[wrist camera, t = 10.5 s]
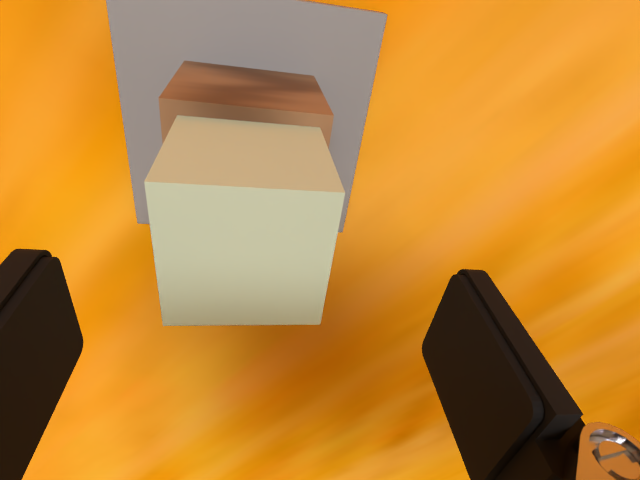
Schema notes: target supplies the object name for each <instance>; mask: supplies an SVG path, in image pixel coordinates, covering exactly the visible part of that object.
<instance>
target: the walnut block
mask: <svg viewBox="0 0 640 480" xmlns="http://www.w3.org/2000/svg"><path fill="white" fill-rule="evenodd" d="M159 110H160V121H161V133H162V144H163V143H164V141H165V139H166V137H167V135H168V133H169V131H170V129H171V127H172V125H173V123H174V121H175V119H176V117H177V115H180V116H192V117H203V118H215V119H227V120H238V121H250V122H262V123H273V124H285V125H297V126H308V127H320V128H321V131H322V134H323V136H324V139H325V141H326V144H327V147H328V149H329V143H330V137H331V131H332V125H333V118H334V115H333V113H332V111H331V109H330V107H329V105H328V103H327V101H326V99H325V97H324V95H323V93H322V91H321V89H320V87H319V85H318V83H317V81H316V79H315V77H314V76H312V75H304V74H295V73H287V72H278V71H270V70H261V69H253V68H245V67H236V66H228V65H219V64H211V63H202V62H194V61H185V60H184V62H183V63H182V65H181V66H180V68H179V69H178V70H177V72H176V73H175V75H174V76H173V78H172V79H171V81H170V82H169V83H168V85H167V86H166V88H165V89H164V91H163V92H162V94H161V95H160V96H159Z"/></svg>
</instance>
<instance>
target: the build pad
mask: <svg viewBox="0 0 640 480" xmlns="http://www.w3.org/2000/svg"><path fill="white" fill-rule="evenodd" d="M106 3H107V10H108V17H109V25H110V32H111V39H112V46H113V53H114V60H115V67H116V74H117V81H118V88H119V96H120V103H121V110H122V117H123V124H124V131H125V138H126V145H127V152H128V159H129V167H130V174H131V181H132V188H133V195H134V202H135V209H136V216H137V223H139V224H150V222H149V215H148V207H147V199H146V192H145V184H144V181H145V179H146V177H147V175H148V173H149V171H150V169H151V167H152V165H153V163H154V161H155V159H156V157H157V155H158V153H159V151H160V149H161V147H162V145H163V144H162V133H161V121H160V110H159V96H160V95H161V94H162V92H163V91H164V89H165V88H166V86H167V85H168V83H169V82H170V81H171V79H172V78H173V76H174V75H175V73H176V72H177V70H178V69H179V68H180V66H181V65H182V63H183V62H184V60H185V61H194V62H202V63H211V64H219V65H228V66H236V67H245V68H253V69H261V70H270V71H278V72H287V73H295V74H304V75H312V76H314V77H315V79H316V81H317V83H318V85H319V87H320V89H321V91H322V93H323V95H324V97H325V99H326V101H327V103H328V105H329V107H330V109H331V111H332V113H333V115H334V118H333V125H332V131H331V137H330V143H329V152H330V154H331V157H332V160H333V162H334V165H335V167H336V170H337V173H338V175H339V178H340V180H341V183H342V186H343V188H344V191H345V197H344V202H343V207H342V212H341V218H340V223H339V228H338V232H343V227H344V222H345V218H346V213H347V208H348V203H349V198H350V193H351V188H352V184H353V179H354V174H355V169H356V164H357V159H358V154H359V150H360V145H361V140H362V135H363V130H364V125H365V121H366V116H367V111H368V106H369V101H370V96H371V91H372V87H373V82H374V77H375V72H376V67H377V62H378V58H379V53H380V48H381V43H382V38H383V33H384V28H385V24H386V19H387V14H385V13H383V12H377V11H370V10H364V9H357V8H351V7H344V6H338V5H331V4H325V3H318V2H312V1H305V0H106Z"/></svg>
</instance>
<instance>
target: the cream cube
mask: <svg viewBox="0 0 640 480" xmlns="http://www.w3.org/2000/svg"><path fill="white" fill-rule="evenodd" d="M144 184H145V192H146V199H147V207H148V215H149V222H150V230H151V238H152V245H153V253H154V261H155V268H156V276H157V284H158V291H159V299H160V307H161V314H162V322H163V326H202V325H320V324H321V318H322V313H323V308H324V302H325V297H326V292H327V287H328V281H329V276H330V271H331V265H332V260H333V255H334V249H335V244H336V239H337V234H338V228H339V223H340V218H341V212H342V207H343V202H344V197H345V191H344V188H343V186H342V183H341V180H340V178H339V175H338V173H337V170H336V167H335V165H334V162H333V160H332V157H331V154H330V152H329V149H328V147H327V144H326V141H325V139H324V136H323V134H322V131H321V128H320V127H308V126H297V125H285V124H273V123H262V122H250V121H238V120H227V119H215V118H203V117H192V116H180V115H177V117H176V119H175V121H174V123H173V125H172V127H171V129H170V131H169V133H168V135H167V137H166V139H165V141H164V143H163V145H162V147H161V149H160V151H159V153H158V155H157V157H156V159H155V161H154V163H153V165H152V167H151V169H150V171H149V173H148V175H147V177H146V179H145V181H144Z"/></svg>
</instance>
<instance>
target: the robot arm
mask: <svg viewBox="0 0 640 480" xmlns="http://www.w3.org/2000/svg"><path fill="white" fill-rule="evenodd" d="M82 348H83V337H82V333H81V330H80V327H79V323H78V320H77V317H76V313H75V310H74V306H73V303H72V300H71V296H70V293H69V290H68V286H67V283H66V279H65V276H64V273H63V269H62V266H61V263H60V260H59V259H58V258H57V257H52V255H51V253H50V252H49V251H47V250H33V249H16V250H14V251H12V252H11V253H10V254H9V256H8V257H7V258H6V259H5V260H4V261H3V262H2V264H1V265H0V480H22V477H23V475H24V473H25V471H26V469H27V467H28V465H29V463H30V460H31V458H32V456H33V454H34V452H35V450H36V448H37V446H38V444H39V441H40V439H41V437H42V435H43V433H44V431H45V429H46V427H47V424H48V422H49V420H50V418H51V416H52V414H53V412H54V410H55V408H56V405H57V403H58V401H59V399H60V397H61V395H62V393H63V391H64V388H65V386H66V384H67V382H68V380H69V378H70V376H71V374H72V371H73V369H74V367H75V365H76V363H77V361H78V359H79V357H80V354H81V352H82ZM422 353H423V357H424V360H425V362H426V365H427V367H428V370H429V373H430V375H431V378H432V380H433V383H434V386H435V388H436V391H437V394H438V396H439V399H440V401H441V404H442V407H443V409H444V412H445V414H446V417H447V420H448V422H449V425H450V427H451V430H452V433H453V435H454V438H455V441H456V443H457V446H458V448H459V451H460V454H461V456H462V459H463V461H464V464H465V467H466V469H467V472H468V474H469V477H470V479H471V480H640V443H639V442H638V441H637V440H636V439H635V438H634V437H632V436H631V435H629V434H628V433H626V432H625V431H623V430H621V429H619V428H617V427H615V426H612V425H610V424H606V423H601V422H594V423H589V424H587V425H585V424H584V422H583V421H582V419H581V418H580V417H581V416H582V415H583V413H582V412H581V410H580V409H579V407H578V406H577V404H576V403H575V401H574V400H573V398H572V397H571V396H570V394H569V393H568V391H567V390H566V388H565V387H564V385H563V384H562V382H561V381H560V379H559V378H558V377H557V375H556V374H555V372H554V371H553V369H552V368H551V366H550V365H549V363H548V362H547V360H546V359H545V357H544V356H543V355H542V353H541V352H540V350H539V349H538V347H537V346H536V344H535V343H534V341H533V340H532V338H531V337H530V336H529V334H528V333H527V331H526V330H525V328H524V327H523V325H522V324H521V322H520V321H519V319H518V318H517V316H516V315H515V314H514V312H513V311H512V309H511V308H510V306H509V305H508V303H507V302H506V300H505V299H504V297H503V296H502V294H501V293H500V292H499V290H498V289H497V287H496V286H495V284H494V283H493V281H492V280H491V278H490V277H489V275H488V274H487V273H486V272H485V271H483V270H469V269H462V270H460V271H458V273H457V275H456V274H455V275H453V276H452V277H451V279H450V281H449V283H448V285H447V288H446V290H445V292H444V295H443V297H442V299H441V302H440V304H439V306H438V309H437V311H436V313H435V315H434V318H433V320H432V322H431V325H430V327H429V329H428V332H427V334H426V336H425V339H424V341H423V344H422Z"/></svg>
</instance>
